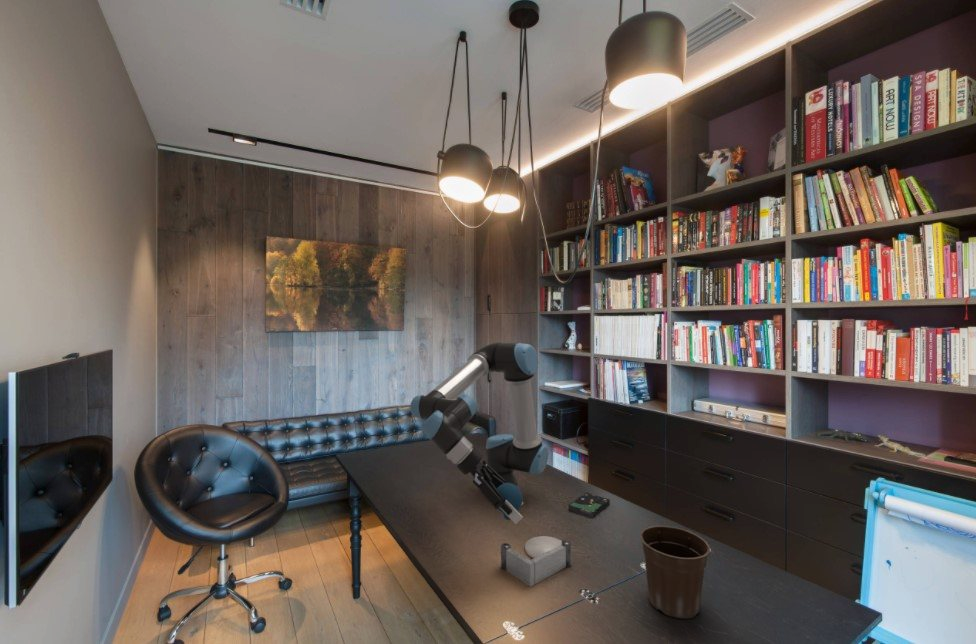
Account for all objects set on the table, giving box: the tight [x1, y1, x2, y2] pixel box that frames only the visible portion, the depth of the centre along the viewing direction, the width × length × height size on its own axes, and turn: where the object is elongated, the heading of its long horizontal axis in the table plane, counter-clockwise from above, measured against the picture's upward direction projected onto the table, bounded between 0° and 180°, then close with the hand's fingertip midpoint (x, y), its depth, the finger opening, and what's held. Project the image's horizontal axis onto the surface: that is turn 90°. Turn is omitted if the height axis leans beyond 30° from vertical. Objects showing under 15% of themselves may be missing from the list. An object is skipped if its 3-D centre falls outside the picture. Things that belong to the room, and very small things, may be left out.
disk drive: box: [568, 492, 611, 519], centre depth 163 cm, size 10×3×15 cm
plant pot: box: [639, 525, 711, 620], centre depth 108 cm, size 16×16×16 cm
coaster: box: [524, 535, 563, 559], centre depth 133 cm, size 13×13×1 cm
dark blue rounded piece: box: [497, 483, 524, 526], centre depth 123 cm, size 8×8×12 cm
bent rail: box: [500, 539, 572, 588], centre depth 125 cm, size 18×13×6 cm
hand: (519, 513), depth 122 cm, fingers closed on dark blue rounded piece, 8 cm apart
